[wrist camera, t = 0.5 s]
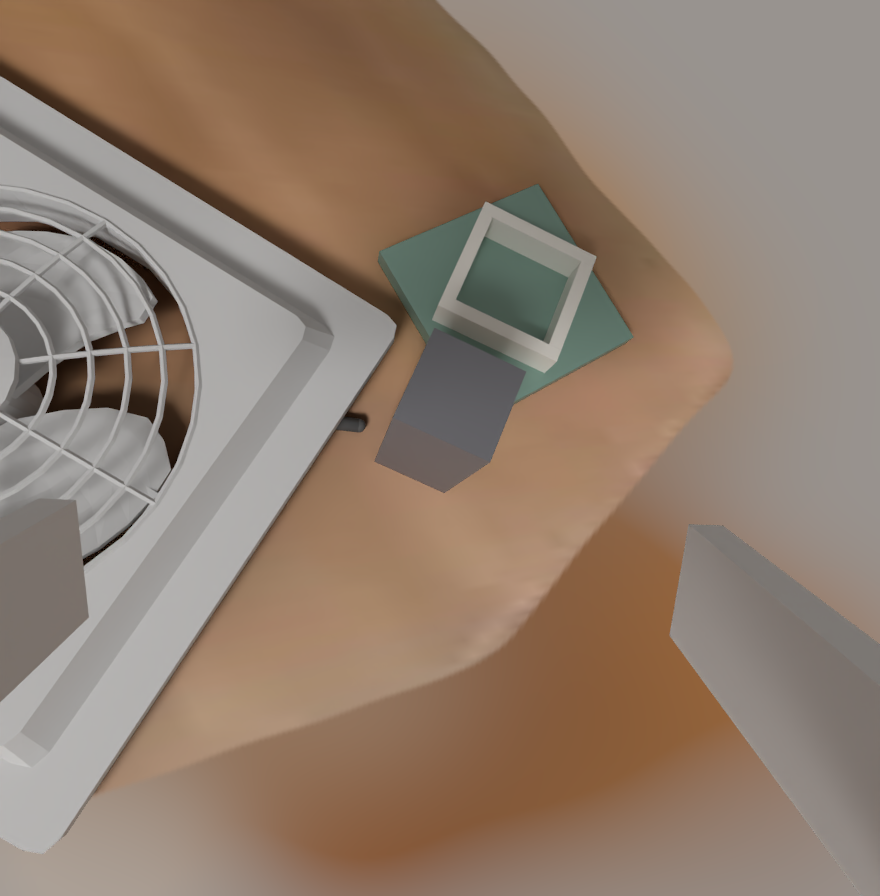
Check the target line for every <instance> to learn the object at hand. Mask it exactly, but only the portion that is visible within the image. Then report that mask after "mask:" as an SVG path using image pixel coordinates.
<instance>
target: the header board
mask: <svg viewBox="0 0 880 896" xmlns="http://www.w3.org/2000/svg"><path fill="white" fill-rule="evenodd" d="M595 260H596V256H594V255H592V254H590V253H588V252H586V251H584V250H582V249H580V248H578V247H577V245H576V244H575V242H574V241H573V239H572V237H571V236H570V234H569V233H568V231H567V229H566V228H565V226H564V225H563V223H562V221H561V220H560V218H559V217H558V215H557V213H556V212H555V210H554V209H553V207H552V205H551V204H550V202H549V201H548V199H547V197H546V196H545V194H544V193H543V191H542V189H541V188H540V186H539V185H538V184H536V185H534V186H531V187H529V188H527V189H524V190H522V191H520V192H517V193H515V194H513V195H510V196H508V197H506V198H503V199H501V200H499V201H496V202H494V203H492V204H490V203H488V202H486V201H485V204H484V206H483V207H482V208H480V209H478V210H475V211H473V212H471V213H468V214H466V215H464V216H461V217H459V218H457V219H454V220H452V221H450V222H447V223H445V224H442V225H440V226H438V227H435V228H433V229H431V230H428V231H426V232H424V233H421V234H419V235H417V236H414V237H412V238H410V239H407V240H405V241H403V242H400V243H398V244H396V245H393V246H391V247H389V248H386V249H384V250H382V251H379V257H378V263H379V264H380V266H381V268H382V270H383V271H384V273H385V275H386V276H387V278H388V280H389V282H390V283H391V285H392V287H393V288H394V290H395V292H396V293H397V295H398V297H399V299H400V300H401V302H402V304H403V305H404V307H405V309H406V311H407V312H408V314H409V316H410V317H411V319H412V321H413V322H414V324H415V326H416V328H417V329H418V331H419V333H420V334H421V336H422V338H423V340H424V341H425V343H426V345H427V342H428V340H429V338H430V336H431V334H432V332H433V329H434V328H436V329H438V330H441V331H443V332H445V333H447V334H449V335H451V336H453V337H455V338H457V339H459V340H461V341H464V342H466V343H468V344H470V345H472V346H474V347H476V348H478V349H480V350H482V351H484V352H487V353H489V354H491V355H493V356H495V357H497V358H499V359H501V360H503V361H505V362H507V363H510V364H512V365H514V366H516V367H518V368H520V369H522V370H524V371H526V374H525V376H524V379H523V381H522V384H521V386H520V389H519V391H518V394H517V396H516V399H515V401H514V404H515V403H517V402H519V401H521V400H523V399H525V398H526V397H528V396H530V395H532V394H534V393H536V392H537V391H539V390H541V389H543V388H545V387H547V386H548V385H550V384H552V383H554V382H556V381H558V380H559V379H561V378H563V377H565V376H567V375H569V374H571V373H572V372H574V371H576V370H578V369H580V368H582V367H583V366H585V365H587V364H589V363H591V362H593V361H594V360H596V359H598V358H600V357H602V356H604V355H605V354H607V353H609V352H611V351H613V350H615V349H616V348H618V347H620V346H622V345H624V344H625V343H627V342H628V341H629V340H631V339H632V338H633V335H632V334H631V332H630V330H629V329H628V327H627V326H626V324H625V322H624V321H623V319H622V318H621V316H620V314H619V313H618V311H617V310H616V308H615V306H614V305H613V303H612V302H611V300H610V298H609V297H608V295H607V294H606V292H605V290H604V289H603V287H602V286H601V284H600V282H599V281H598V279H597V277H596V276H595V274H594V273H593V271H592V268H593V265H594V263H595ZM514 404H513V405H514Z"/></svg>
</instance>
